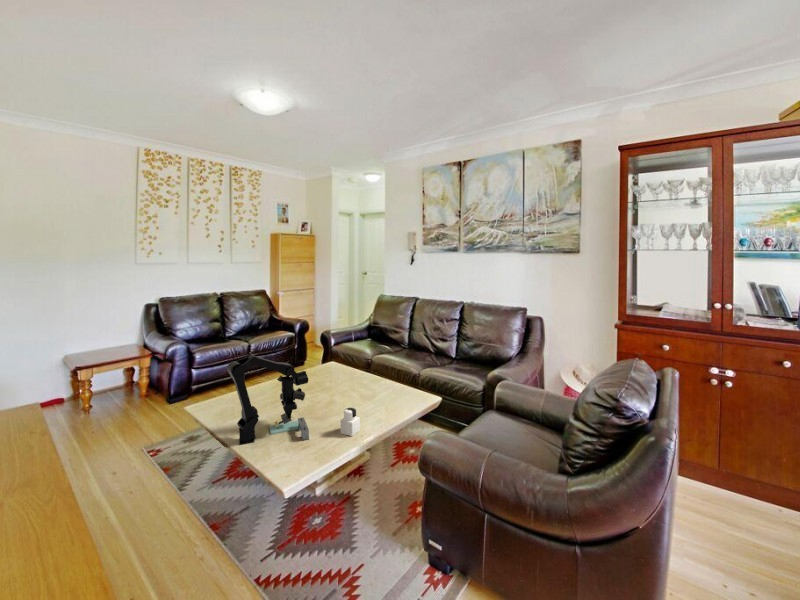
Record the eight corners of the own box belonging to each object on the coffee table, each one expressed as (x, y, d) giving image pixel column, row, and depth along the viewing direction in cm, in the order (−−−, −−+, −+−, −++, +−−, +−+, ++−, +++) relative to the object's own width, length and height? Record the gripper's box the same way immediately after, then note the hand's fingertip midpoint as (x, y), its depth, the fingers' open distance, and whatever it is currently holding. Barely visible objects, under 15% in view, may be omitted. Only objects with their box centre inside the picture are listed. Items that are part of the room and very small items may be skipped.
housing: (302, 440, 176) (302, 430, 175) (298, 427, 189) (297, 417, 188) (309, 439, 177) (308, 429, 176) (303, 426, 190) (303, 416, 189)
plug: (276, 427, 185) (273, 422, 184) (275, 424, 189) (273, 418, 188) (293, 419, 188) (290, 414, 187) (292, 416, 192) (289, 411, 191)
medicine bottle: (348, 427, 189) (348, 405, 188) (360, 430, 186) (359, 408, 184) (340, 433, 183) (339, 410, 181) (352, 436, 180) (351, 413, 178)
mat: (270, 434, 182) (270, 433, 182) (269, 426, 190) (269, 425, 190) (299, 429, 187) (299, 428, 187) (296, 421, 195) (296, 420, 195)
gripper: (306, 391, 182) (307, 421, 184) (300, 379, 199) (301, 407, 201) (283, 395, 177) (284, 425, 179) (279, 382, 194) (280, 410, 196)
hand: (288, 416), depth 189 cm, fingers closed on plug, 4 cm apart
